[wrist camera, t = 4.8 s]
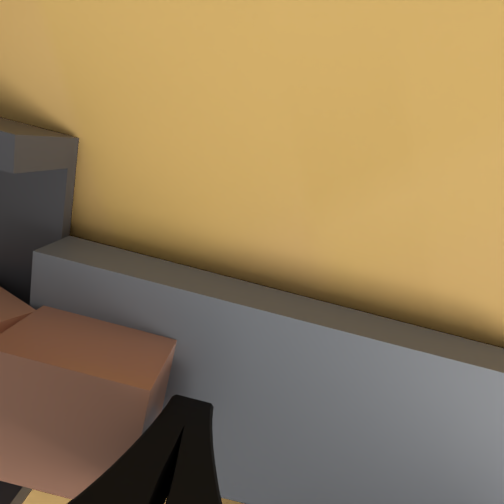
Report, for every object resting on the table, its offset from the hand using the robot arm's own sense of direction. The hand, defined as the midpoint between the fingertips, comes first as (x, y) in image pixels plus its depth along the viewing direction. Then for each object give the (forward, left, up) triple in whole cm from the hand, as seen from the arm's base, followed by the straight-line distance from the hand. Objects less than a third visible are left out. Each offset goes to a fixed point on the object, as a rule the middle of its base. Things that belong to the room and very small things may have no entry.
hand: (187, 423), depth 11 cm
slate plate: (0, -3, -3) cm, 4 cm away
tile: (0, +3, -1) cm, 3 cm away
